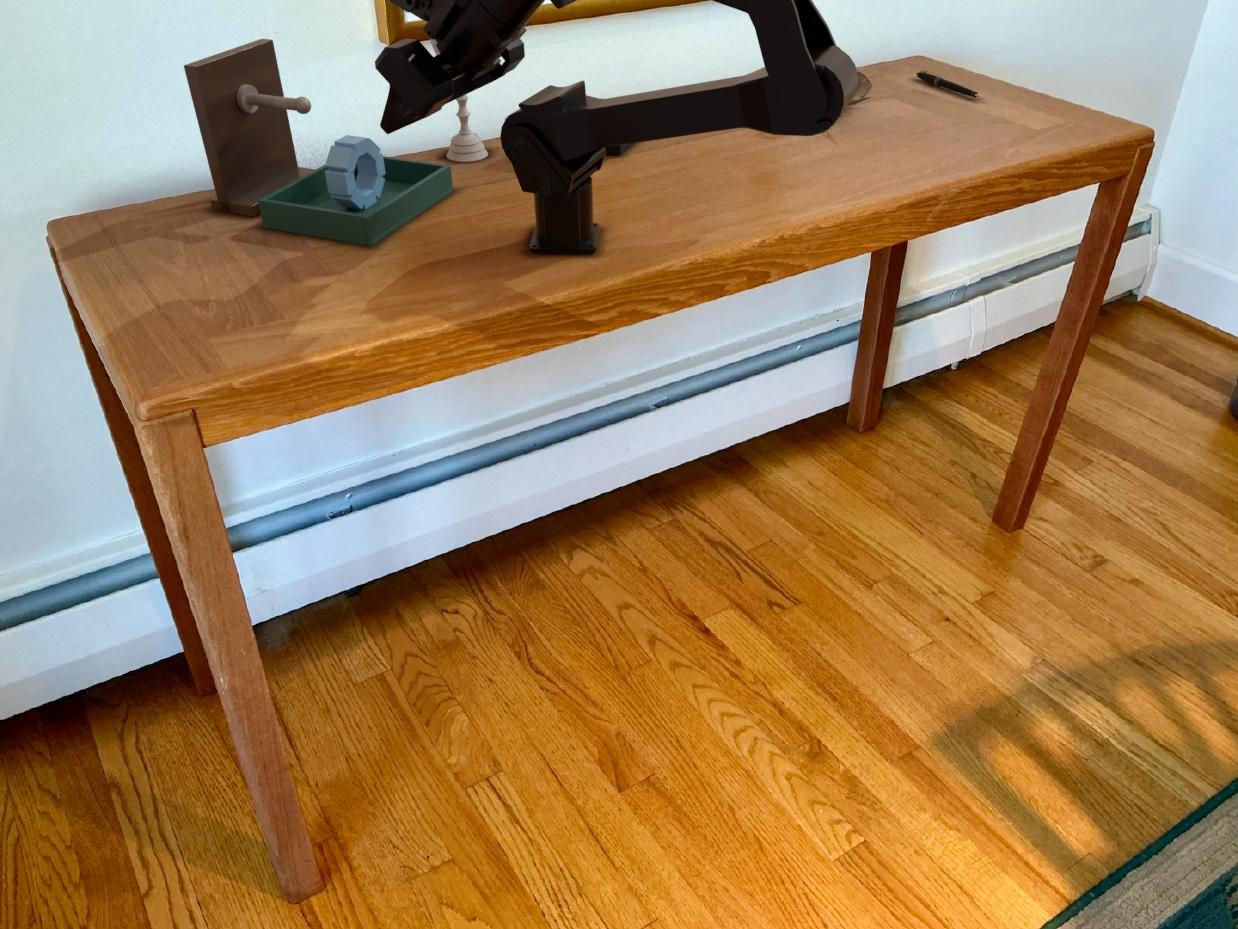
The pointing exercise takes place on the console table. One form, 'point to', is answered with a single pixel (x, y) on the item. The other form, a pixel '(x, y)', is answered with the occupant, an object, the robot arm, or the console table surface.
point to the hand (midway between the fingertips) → (409, 116)
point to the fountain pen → (946, 84)
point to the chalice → (464, 133)
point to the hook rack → (245, 125)
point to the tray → (321, 216)
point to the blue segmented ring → (343, 168)
